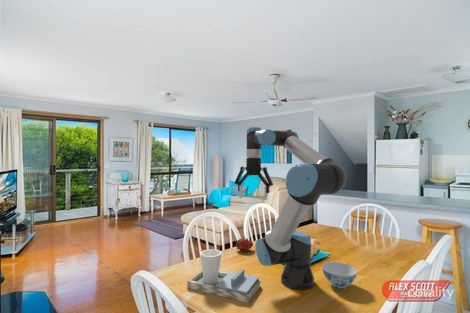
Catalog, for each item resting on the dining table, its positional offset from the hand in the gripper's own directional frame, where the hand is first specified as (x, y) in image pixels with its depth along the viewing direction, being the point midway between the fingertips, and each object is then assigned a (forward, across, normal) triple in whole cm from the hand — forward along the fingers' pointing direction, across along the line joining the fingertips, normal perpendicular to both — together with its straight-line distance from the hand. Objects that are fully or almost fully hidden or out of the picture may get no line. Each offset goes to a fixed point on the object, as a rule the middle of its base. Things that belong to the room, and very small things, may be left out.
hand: (253, 198), depth 141 cm
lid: (+33, -2, +23) cm, 41 cm away
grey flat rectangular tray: (+37, +5, +23) cm, 44 cm away
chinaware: (+37, -42, -1) cm, 56 cm away
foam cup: (+36, +12, +23) cm, 44 cm away
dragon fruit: (+37, +14, -24) cm, 46 cm away
